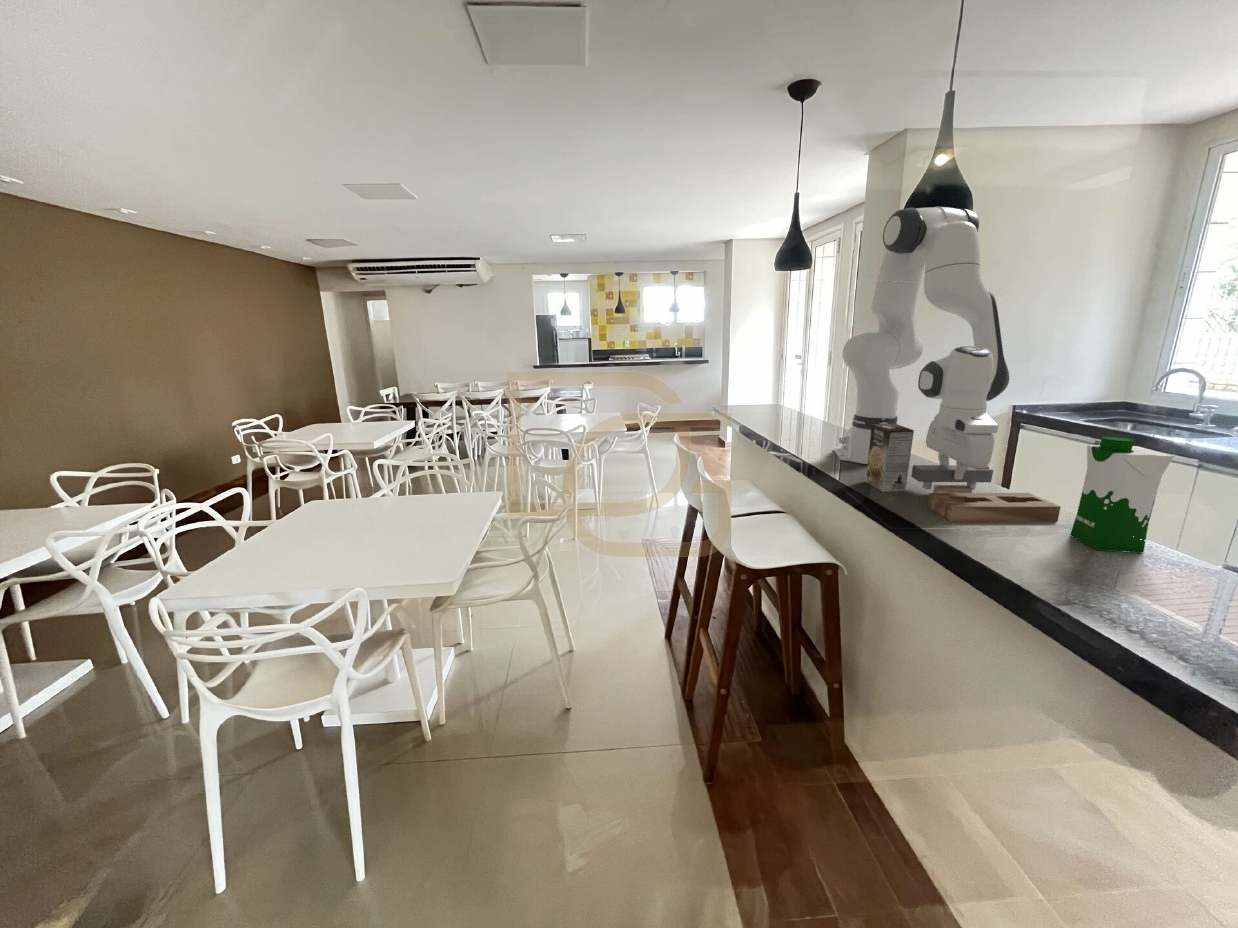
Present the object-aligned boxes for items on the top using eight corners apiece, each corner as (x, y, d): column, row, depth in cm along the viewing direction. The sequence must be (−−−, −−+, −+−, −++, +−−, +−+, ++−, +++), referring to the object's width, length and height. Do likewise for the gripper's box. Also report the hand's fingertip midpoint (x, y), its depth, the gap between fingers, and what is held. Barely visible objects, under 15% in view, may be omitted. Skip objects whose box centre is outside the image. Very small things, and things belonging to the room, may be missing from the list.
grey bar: (909, 485, 118) (913, 462, 117) (978, 485, 117) (983, 463, 115) (917, 490, 115) (921, 467, 113) (989, 491, 113) (993, 467, 111)
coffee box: (864, 482, 129) (870, 423, 125) (888, 481, 129) (895, 423, 124) (881, 492, 120) (888, 430, 116) (907, 492, 120) (915, 429, 116)
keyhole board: (927, 507, 109) (929, 493, 108) (1025, 507, 107) (1027, 492, 106) (950, 522, 100) (952, 506, 99) (1057, 522, 99) (1060, 506, 98)
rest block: (932, 494, 117) (934, 485, 117) (963, 494, 117) (964, 484, 116) (939, 498, 114) (941, 488, 114) (970, 498, 114) (972, 488, 113)
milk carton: (1061, 533, 94) (1083, 433, 88) (1115, 535, 92) (1142, 433, 87) (1094, 552, 85) (1121, 443, 80) (1155, 555, 83) (1186, 444, 78)
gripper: (923, 411, 121) (915, 463, 125) (972, 427, 102) (961, 488, 105) (949, 410, 120) (940, 463, 124) (1004, 427, 101) (991, 489, 105)
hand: (950, 475), depth 115 cm, fingers open, 4 cm apart
